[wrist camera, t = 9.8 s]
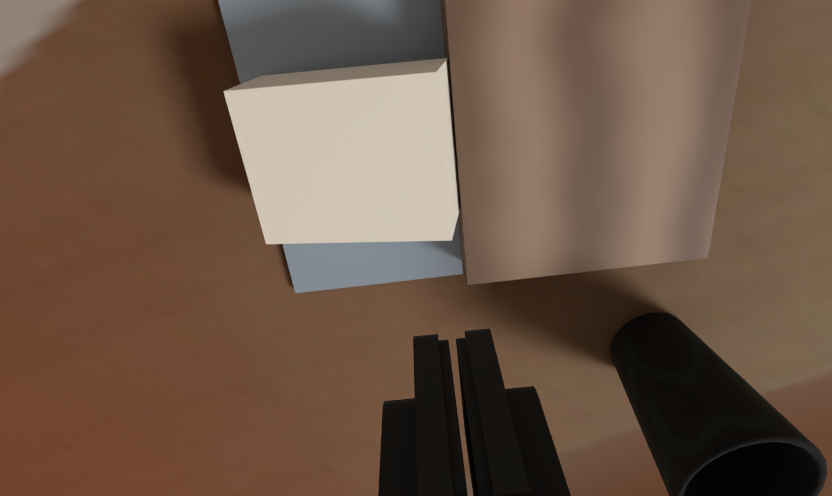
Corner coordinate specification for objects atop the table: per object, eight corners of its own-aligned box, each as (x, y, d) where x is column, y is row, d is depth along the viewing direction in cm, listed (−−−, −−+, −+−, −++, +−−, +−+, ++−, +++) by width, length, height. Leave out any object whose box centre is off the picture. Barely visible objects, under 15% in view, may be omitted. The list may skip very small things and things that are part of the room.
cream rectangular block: (448, 57, 25) (436, 71, 21) (460, 207, 29) (451, 240, 25) (261, 75, 27) (223, 91, 24) (294, 213, 31) (266, 244, 27)
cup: (582, 325, 36) (661, 468, 25) (691, 283, 34) (822, 417, 24) (611, 398, 39) (691, 553, 28) (711, 363, 38) (834, 512, 27)
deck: (717, -57, 25) (762, -63, 22) (678, 231, 33) (707, 257, 30) (438, -21, 26) (443, -22, 23) (461, 256, 33) (467, 285, 30)
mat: (436, -44, 25) (436, -44, 25) (462, 270, 33) (462, 273, 33) (217, -15, 25) (214, -15, 25) (296, 289, 34) (295, 293, 33)
